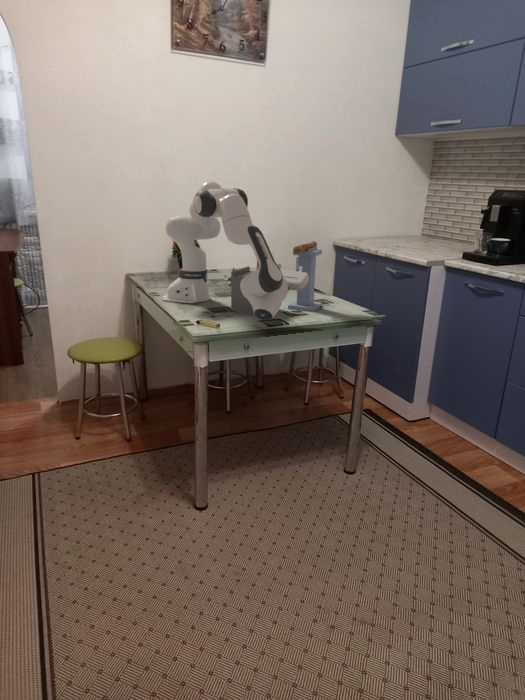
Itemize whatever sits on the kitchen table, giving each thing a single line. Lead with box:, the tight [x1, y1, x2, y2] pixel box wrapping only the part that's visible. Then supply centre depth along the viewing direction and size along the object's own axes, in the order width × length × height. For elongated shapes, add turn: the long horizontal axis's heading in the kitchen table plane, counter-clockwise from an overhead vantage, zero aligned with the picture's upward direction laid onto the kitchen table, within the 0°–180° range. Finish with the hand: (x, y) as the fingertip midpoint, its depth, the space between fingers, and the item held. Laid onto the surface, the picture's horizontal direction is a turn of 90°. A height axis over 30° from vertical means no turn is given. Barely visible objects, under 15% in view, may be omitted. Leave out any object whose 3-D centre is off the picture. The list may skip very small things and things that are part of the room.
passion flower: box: [224, 267, 238, 286], centre depth 274 cm, size 11×11×12 cm
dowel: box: [292, 240, 318, 254], centre depth 221 cm, size 22×3×3 cm, turn 155°
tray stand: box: [230, 265, 256, 315], centre depth 224 cm, size 16×12×18 cm
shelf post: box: [287, 246, 323, 312], centre depth 227 cm, size 12×12×27 cm
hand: (289, 266), depth 207 cm, fingers open, 8 cm apart
